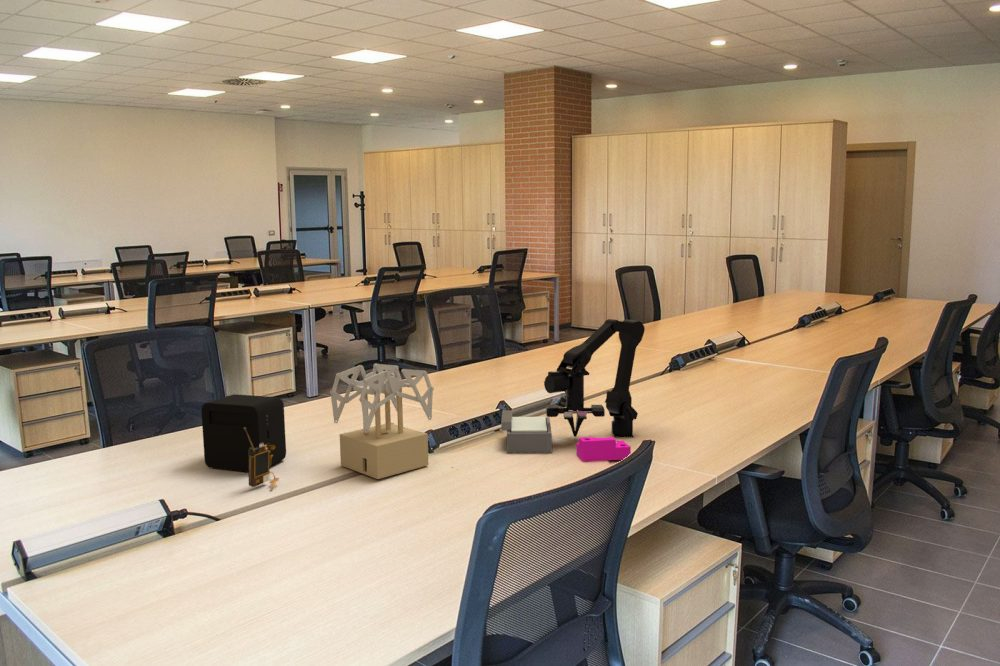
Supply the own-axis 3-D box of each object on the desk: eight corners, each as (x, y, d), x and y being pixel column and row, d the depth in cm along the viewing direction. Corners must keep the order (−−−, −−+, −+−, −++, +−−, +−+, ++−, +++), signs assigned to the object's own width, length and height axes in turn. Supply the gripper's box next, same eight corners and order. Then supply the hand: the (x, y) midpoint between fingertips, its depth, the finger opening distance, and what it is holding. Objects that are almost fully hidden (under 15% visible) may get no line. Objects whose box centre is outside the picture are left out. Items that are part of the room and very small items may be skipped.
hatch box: (549, 435, 263) (549, 417, 262) (551, 453, 242) (551, 433, 241) (508, 435, 263) (508, 417, 262) (507, 453, 242) (506, 433, 241)
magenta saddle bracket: (582, 441, 232) (576, 435, 239) (582, 461, 232) (576, 454, 240) (630, 438, 234) (623, 432, 241) (630, 458, 235) (622, 452, 242)
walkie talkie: (255, 494, 207) (251, 429, 205) (225, 486, 215) (221, 423, 212) (293, 481, 218) (290, 419, 216) (264, 473, 225) (260, 413, 223)
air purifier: (290, 459, 239) (287, 396, 236) (261, 473, 225) (257, 406, 223) (235, 454, 245) (232, 392, 243) (204, 467, 232) (200, 402, 229)
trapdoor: (545, 418, 260) (545, 409, 260) (547, 432, 242) (546, 422, 242) (502, 418, 261) (502, 409, 261) (501, 432, 243) (501, 422, 243)
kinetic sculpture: (368, 481, 216) (365, 376, 213) (330, 466, 231) (325, 368, 227) (436, 462, 233) (434, 365, 230) (396, 450, 248) (393, 357, 244)
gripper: (601, 384, 257) (601, 430, 259) (545, 385, 258) (545, 430, 260) (604, 391, 246) (604, 438, 248) (546, 391, 247) (546, 439, 249)
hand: (575, 436), depth 252 cm, fingers closed
